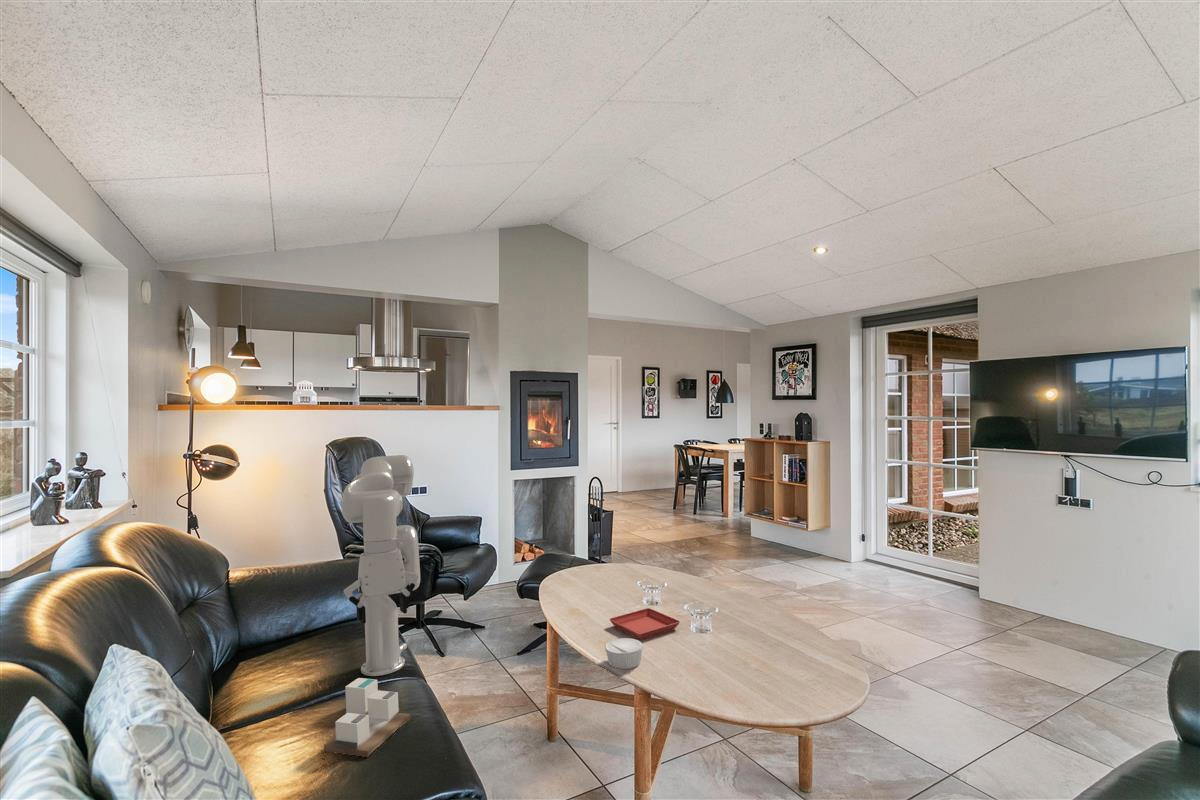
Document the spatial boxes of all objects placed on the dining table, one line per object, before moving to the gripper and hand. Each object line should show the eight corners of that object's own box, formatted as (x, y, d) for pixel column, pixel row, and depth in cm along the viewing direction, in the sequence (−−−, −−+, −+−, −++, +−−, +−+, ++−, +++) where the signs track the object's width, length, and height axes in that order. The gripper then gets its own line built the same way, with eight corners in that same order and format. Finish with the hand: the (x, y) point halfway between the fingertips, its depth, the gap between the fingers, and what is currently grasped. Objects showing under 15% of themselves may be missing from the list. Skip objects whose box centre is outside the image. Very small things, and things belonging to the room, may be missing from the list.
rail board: (370, 715, 147) (369, 704, 147) (410, 720, 144) (410, 709, 144) (324, 751, 132) (323, 739, 132) (367, 758, 128) (367, 745, 128)
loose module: (359, 704, 153) (358, 677, 153) (378, 706, 152) (377, 679, 152) (346, 713, 148) (345, 686, 149) (365, 716, 147) (364, 688, 147)
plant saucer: (649, 616, 210) (648, 607, 210) (681, 630, 194) (681, 620, 194) (608, 628, 200) (608, 618, 200) (639, 644, 185) (639, 634, 185)
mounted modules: (378, 709, 146) (377, 689, 146) (398, 711, 144) (397, 691, 144) (336, 742, 131) (335, 720, 131) (357, 745, 130) (357, 723, 130)
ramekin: (600, 668, 168) (599, 650, 168) (613, 653, 178) (612, 636, 178) (636, 673, 164) (635, 655, 164) (647, 657, 174) (647, 639, 174)
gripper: (411, 537, 146) (413, 604, 145) (338, 550, 135) (341, 622, 135) (421, 542, 140) (424, 612, 139) (346, 555, 129) (349, 631, 129)
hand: (383, 617), depth 137 cm, fingers open, 9 cm apart
